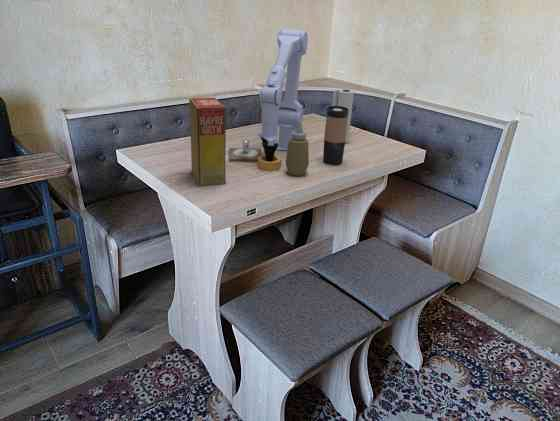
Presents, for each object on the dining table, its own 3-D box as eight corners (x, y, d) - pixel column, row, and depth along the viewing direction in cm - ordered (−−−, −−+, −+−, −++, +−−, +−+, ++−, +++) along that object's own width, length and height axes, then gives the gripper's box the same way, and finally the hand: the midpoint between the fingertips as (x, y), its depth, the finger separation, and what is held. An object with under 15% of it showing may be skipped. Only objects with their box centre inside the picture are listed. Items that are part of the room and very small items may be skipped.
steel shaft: (248, 152, 172) (248, 139, 170) (249, 154, 170) (249, 141, 168) (242, 152, 172) (242, 139, 170) (242, 154, 170) (242, 141, 168)
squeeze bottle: (300, 179, 154) (304, 127, 145) (280, 173, 157) (282, 122, 149) (312, 172, 160) (316, 121, 152) (292, 167, 163) (295, 117, 155)
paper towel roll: (350, 141, 193) (356, 90, 183) (344, 145, 188) (350, 92, 179) (335, 138, 196) (340, 87, 186) (328, 141, 191) (333, 90, 182)
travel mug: (344, 160, 172) (350, 107, 163) (340, 167, 166) (346, 112, 157) (325, 157, 174) (329, 104, 165) (319, 163, 168) (324, 109, 159)
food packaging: (227, 183, 148) (226, 106, 136) (198, 186, 145) (195, 108, 133) (217, 169, 159) (216, 96, 148) (190, 171, 156) (187, 97, 144)
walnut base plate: (260, 150, 178) (260, 147, 177) (262, 161, 167) (262, 158, 166) (229, 150, 176) (229, 147, 176) (229, 161, 166) (229, 158, 165)
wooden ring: (279, 162, 167) (279, 154, 165) (281, 170, 160) (281, 162, 158) (257, 162, 166) (257, 154, 165) (258, 170, 159) (258, 162, 158)
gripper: (257, 115, 165) (256, 151, 171) (259, 127, 152) (258, 165, 158) (276, 116, 166) (275, 151, 172) (280, 127, 153) (279, 165, 159)
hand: (268, 158), depth 165 cm, fingers open, 6 cm apart
